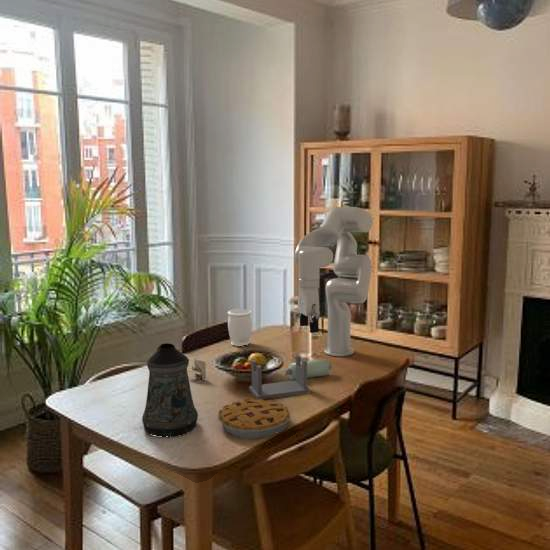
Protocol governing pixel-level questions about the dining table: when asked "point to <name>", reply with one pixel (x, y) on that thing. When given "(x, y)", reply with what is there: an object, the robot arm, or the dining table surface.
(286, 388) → the roll holder
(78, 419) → the dining table surface
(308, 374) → the roll
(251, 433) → the pie
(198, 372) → the architectural model
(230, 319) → the jar
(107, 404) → the dining table surface
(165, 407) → the beer stein
